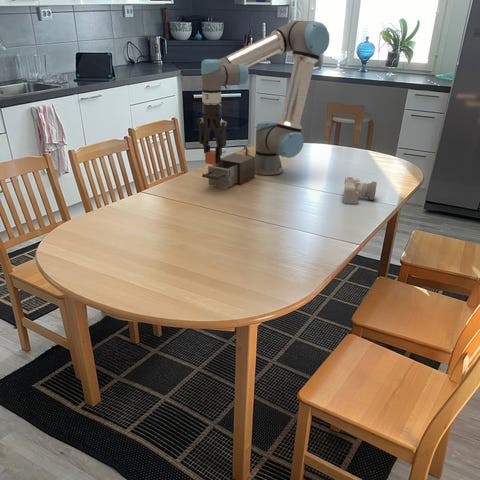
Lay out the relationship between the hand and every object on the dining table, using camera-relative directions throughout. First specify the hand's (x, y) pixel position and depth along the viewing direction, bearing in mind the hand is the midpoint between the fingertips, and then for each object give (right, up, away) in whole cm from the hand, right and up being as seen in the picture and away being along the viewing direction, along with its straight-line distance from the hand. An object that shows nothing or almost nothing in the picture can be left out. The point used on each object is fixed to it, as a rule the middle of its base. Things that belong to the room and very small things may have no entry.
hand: (213, 162), depth 209 cm
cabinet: (+10, -2, +21) cm, 23 cm away
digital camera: (+62, -16, +1) cm, 64 cm away
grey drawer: (+3, -7, +11) cm, 13 cm away
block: (0, 0, 0) cm, 0 cm away
